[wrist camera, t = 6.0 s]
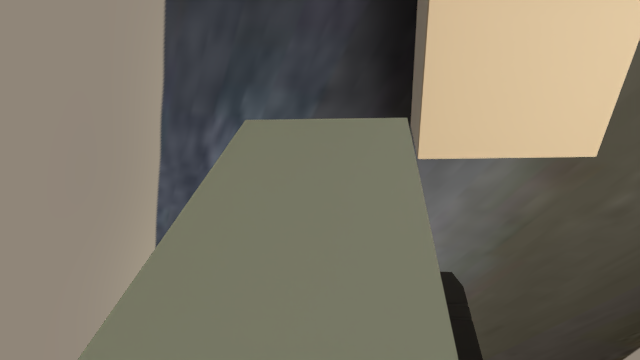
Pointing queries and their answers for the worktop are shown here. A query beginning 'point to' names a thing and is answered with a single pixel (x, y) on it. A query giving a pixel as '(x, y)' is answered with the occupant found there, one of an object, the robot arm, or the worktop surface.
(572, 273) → the worktop surface
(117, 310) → the sage carton
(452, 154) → the podium
